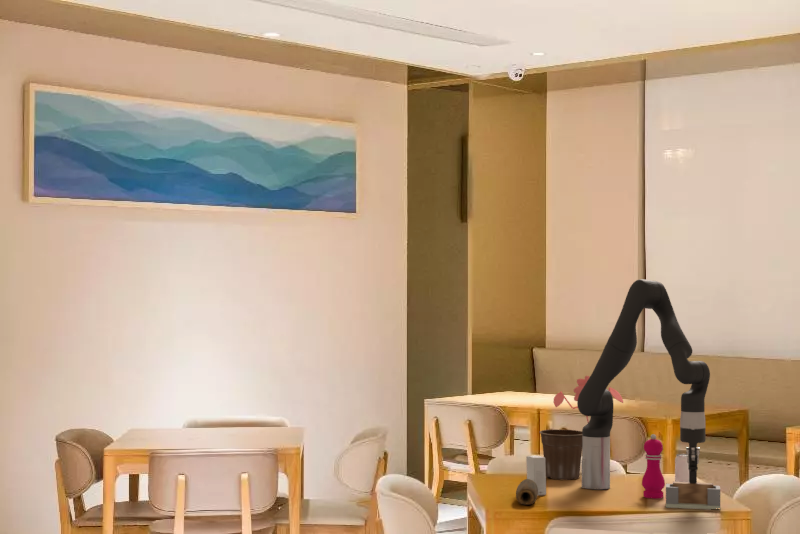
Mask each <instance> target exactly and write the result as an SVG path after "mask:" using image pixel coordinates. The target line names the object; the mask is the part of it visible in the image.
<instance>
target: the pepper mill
mask: <svg viewBox="0 0 800 534" xmlns="http://www.w3.org/2000/svg"><path fill="white" fill-rule="evenodd" d="M643 450H644V451H645V453H646V454H645V459H646V470H645V472H644V474H643V476H642V479H641V485H642V487H643V488H644V490H643V493H642V494H643V497H644V498H645V499H656V500H657V499H663V498H664V491H663V489H664V488H665V487H666V482H665V477H664V475H663V473H662V470H661V465H660V464H661V460H662V452H663V450H664V446H663V443H662V442H661V440H659V439H657V435H656V434H654V433H653V434H651V435H650V438H649V439H647V440H646V441H645V442H644V444H643Z"/></svg>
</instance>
